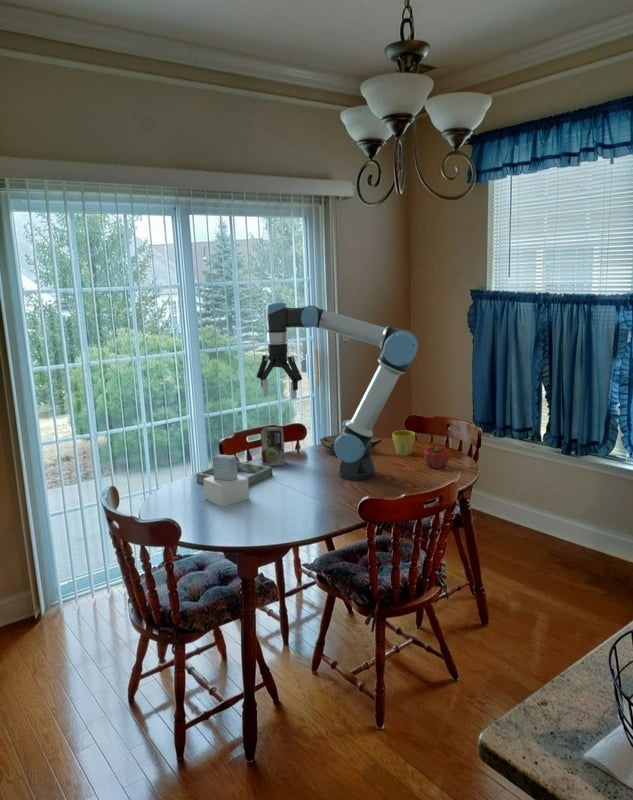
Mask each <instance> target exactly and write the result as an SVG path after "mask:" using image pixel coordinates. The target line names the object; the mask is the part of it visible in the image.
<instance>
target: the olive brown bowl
mask: <svg viewBox="0 0 633 800" xmlns="http://www.w3.org/2000/svg"><path fill="white" fill-rule="evenodd" d="M338 436H339V434H336V435H335V434H334V435H328V436H323V437H322V438H320V439H319V441H320V445H322V446H323V447H324V448H326V449H329V450H331V451H333V452H335V451H334V443H335V440H336V438H337V437H338ZM382 441H383V439H382V438H379V439H377V440H375V439H373V438H371V450H372V449H373V448H375V447H376V446H377V445H379V444H380V443H381V442H382Z"/></svg>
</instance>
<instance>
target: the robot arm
mask: <svg viewBox="0 0 633 800" xmlns="http://www.w3.org/2000/svg"><path fill="white" fill-rule="evenodd" d="M265 316H266V331H267V333H266V334H267V343H268V345H267V353H268V354H263V355H262V356H261V358H262V359H261V362H260V365H259V368H258V371H257V374H256V378H257V379H260V385H261V386H260V387H261V388H262V397H269V396H270V395H269V394H270V393H269V379H268V377H269V375H270V373H271V372H272V371H273V369H274V368H279V369H280V368H281V369H282V370H284V372H285V374H286V375H287V376H288V377H289V379H290V380H291V381H290V398H291V400H295V399H297V391H298V389H299V384H298V383H299V382H300V381H302V380H303V377H302V374H301V372H300V370H299V368H298V366H297V364H296V361H295V360H296V359H295V356H294V355H291V356H288V344H287V342H288V333H287V332H288V328H306V329H308V328H317V329H321V330H324V331H328V332H331V333H335V334H338V335H340V336H343V337H348V338H350V339H354V340H357V341H360V342H364V343H367V344H371V345H374V346H377V347H379V348H380V350H381V351H380V354H379V355H378V357H377V362H378V364H379V365H378V367H377V369H376V370H375V372H374V375H373V377H372V378H371V380H370V382H369V384H368V386H367V388H366V390H365V393H364V394H363V396H362V397H361V400H360V402H359V404H358V405H357V408H356V410H355V412H354V413H353V416H352V418H351V419H347V420H346V419H345V420H343V421H342V424H341V428H342V429H341V430H340V433H339V434H338V435H339V436H338V437H337V438H336V440H335V443H334V451H333V452H334V454H335V455H336V456H337V458H338V459H339V460H341V462H340V464H339V468H338V475H339V477H340V478H341V479H345V480H351V481H364V480H368V479H373V478H374V477H375V476H376V474H377V473H376V472H377V471H376V470H377V469H376V467H375V462H374V461H373V458H372V449H371V439H373V436H374V434H373V427H374V426H375V423H376V422H377V420H378V418H379V416H380V414H381V412H382V410H383V409H384V407H385V405H386V402H387V400H389V399H388V398H389V396H390V395H391V393H392V392H393V390H394V387H395V385H397V384H396V383H397V382H398V380H399V378H400V376H402V375H404V374H406V373H407V371H408V370H409V367H410V366H411V364H412V361H413V360H414V359H415V357H416V356H417V353H418V350H419V347H420V346H419V345H420V343H419V339H418V337H417V335H416V334H415V332H413V331H411V330H408V329H404V328H403V329H402V328H398V327H397V328H396V327H394V326H390V325H388V326H386V327H385V326H384V327H383V326H380V325H377V324H373V323H370V322H367V321H363V320H360V319H358V318H357V319H356V318H353V317H349V316H346V315H342V314H339V313H336V312H332V311H329V310H326V309H323V308H319V307H318V306H315V305H311V304H310V305H307V306H303V307H287V303H286V302H270V303H269V302H268V303H267V304H266V315H265Z"/></svg>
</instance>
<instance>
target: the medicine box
mask: <svg viewBox="0 0 633 800" xmlns="http://www.w3.org/2000/svg"><path fill="white" fill-rule="evenodd" d="M211 459H212V467H213V474H214V479H216V480H227V481H233V480H235V479H236V478H237V477H238V476H237V474H238V470H237V462H236V461H237V456H236V455H231V454H230V455H229V454H216V455H214V456H213V457H212V458H211Z"/></svg>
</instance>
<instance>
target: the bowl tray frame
mask: <svg viewBox="0 0 633 800" xmlns="http://www.w3.org/2000/svg"><path fill="white" fill-rule="evenodd" d="M236 462H237V471H241V472H246V473H247V472H248V473H252V474H251V475H248V476H246V477H245V478H248V485H249V487H251V486H253V485H255V484H257V483H259V482H261V481H263V480H265V479H267V478H268V479H269V478H270V477H272V476H273V467H272V466H263V464H255V463H250V462H246V461H245V462H244V461H239V460H236ZM212 476H214V474H213V466H212V467H209V468H208V469H204V470H202V471H200V472H196V482H197V483H201V484H204V482H203V479H204V478H208V477H212Z"/></svg>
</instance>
